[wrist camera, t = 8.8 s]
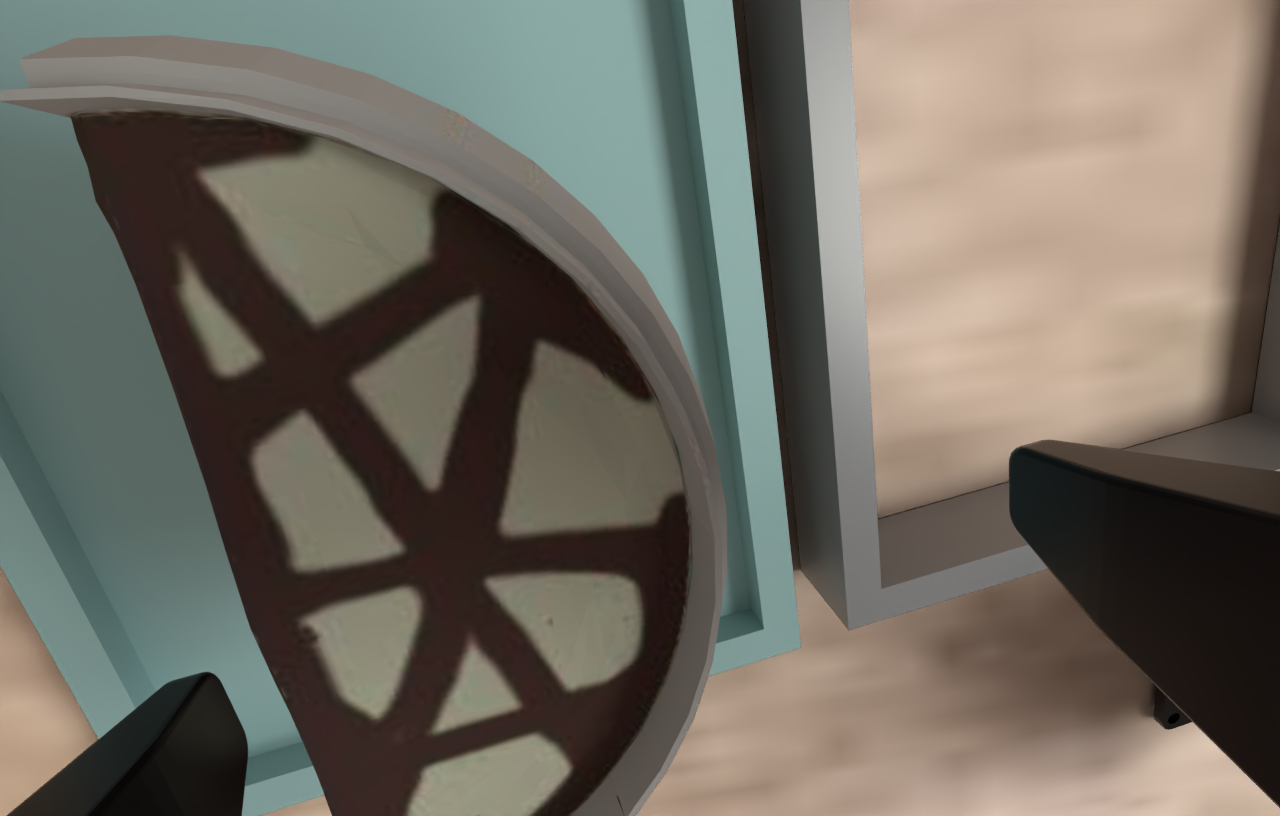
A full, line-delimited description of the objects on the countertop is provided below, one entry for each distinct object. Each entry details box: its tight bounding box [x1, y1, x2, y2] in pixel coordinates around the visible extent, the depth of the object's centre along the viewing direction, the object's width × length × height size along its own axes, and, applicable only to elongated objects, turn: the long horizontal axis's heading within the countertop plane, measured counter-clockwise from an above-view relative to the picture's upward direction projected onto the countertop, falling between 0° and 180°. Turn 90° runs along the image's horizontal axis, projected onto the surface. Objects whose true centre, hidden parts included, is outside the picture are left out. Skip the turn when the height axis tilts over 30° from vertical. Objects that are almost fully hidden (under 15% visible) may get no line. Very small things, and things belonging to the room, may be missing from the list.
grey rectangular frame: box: [743, 0, 1280, 630], centre depth 19 cm, size 22×17×3 cm
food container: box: [0, 35, 727, 816], centre depth 13 cm, size 12×6×10 cm, turn 7°
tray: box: [0, 0, 801, 816], centre depth 17 cm, size 22×17×2 cm
